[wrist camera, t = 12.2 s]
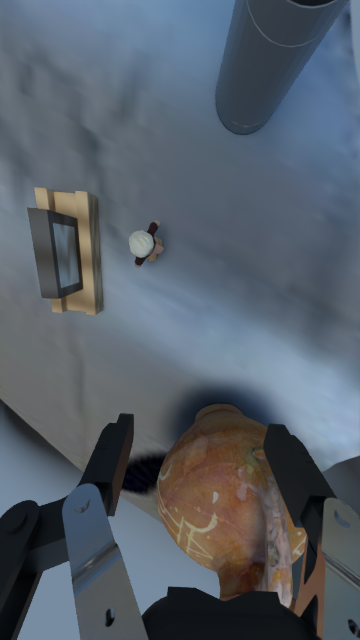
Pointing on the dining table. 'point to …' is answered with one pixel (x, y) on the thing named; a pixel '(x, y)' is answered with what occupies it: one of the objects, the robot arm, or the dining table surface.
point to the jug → (229, 505)
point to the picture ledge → (88, 229)
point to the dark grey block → (56, 252)
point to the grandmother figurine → (146, 244)
